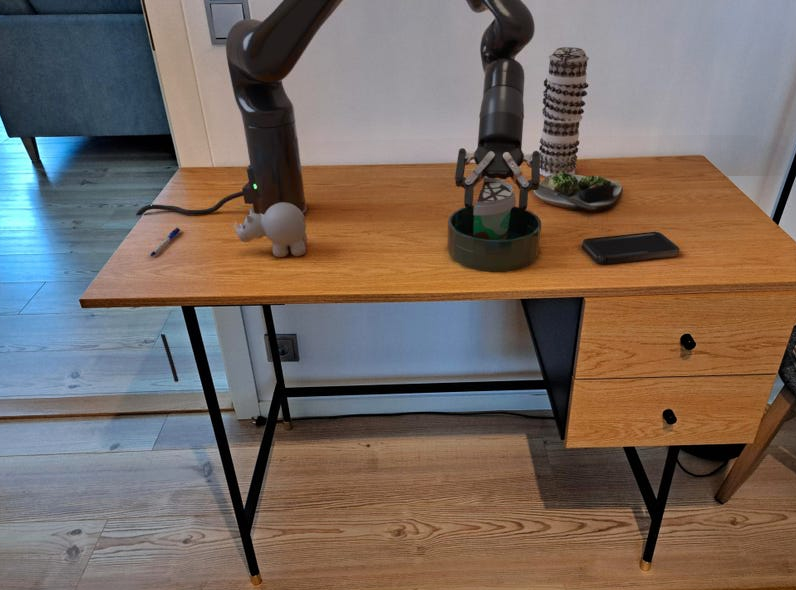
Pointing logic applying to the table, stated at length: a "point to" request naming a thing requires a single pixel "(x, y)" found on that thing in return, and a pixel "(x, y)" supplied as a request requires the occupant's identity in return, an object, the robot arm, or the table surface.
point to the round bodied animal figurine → (277, 229)
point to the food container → (493, 210)
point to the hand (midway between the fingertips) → (495, 210)
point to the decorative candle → (563, 110)
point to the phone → (629, 247)
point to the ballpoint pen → (166, 241)
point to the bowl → (494, 242)
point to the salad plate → (579, 192)
